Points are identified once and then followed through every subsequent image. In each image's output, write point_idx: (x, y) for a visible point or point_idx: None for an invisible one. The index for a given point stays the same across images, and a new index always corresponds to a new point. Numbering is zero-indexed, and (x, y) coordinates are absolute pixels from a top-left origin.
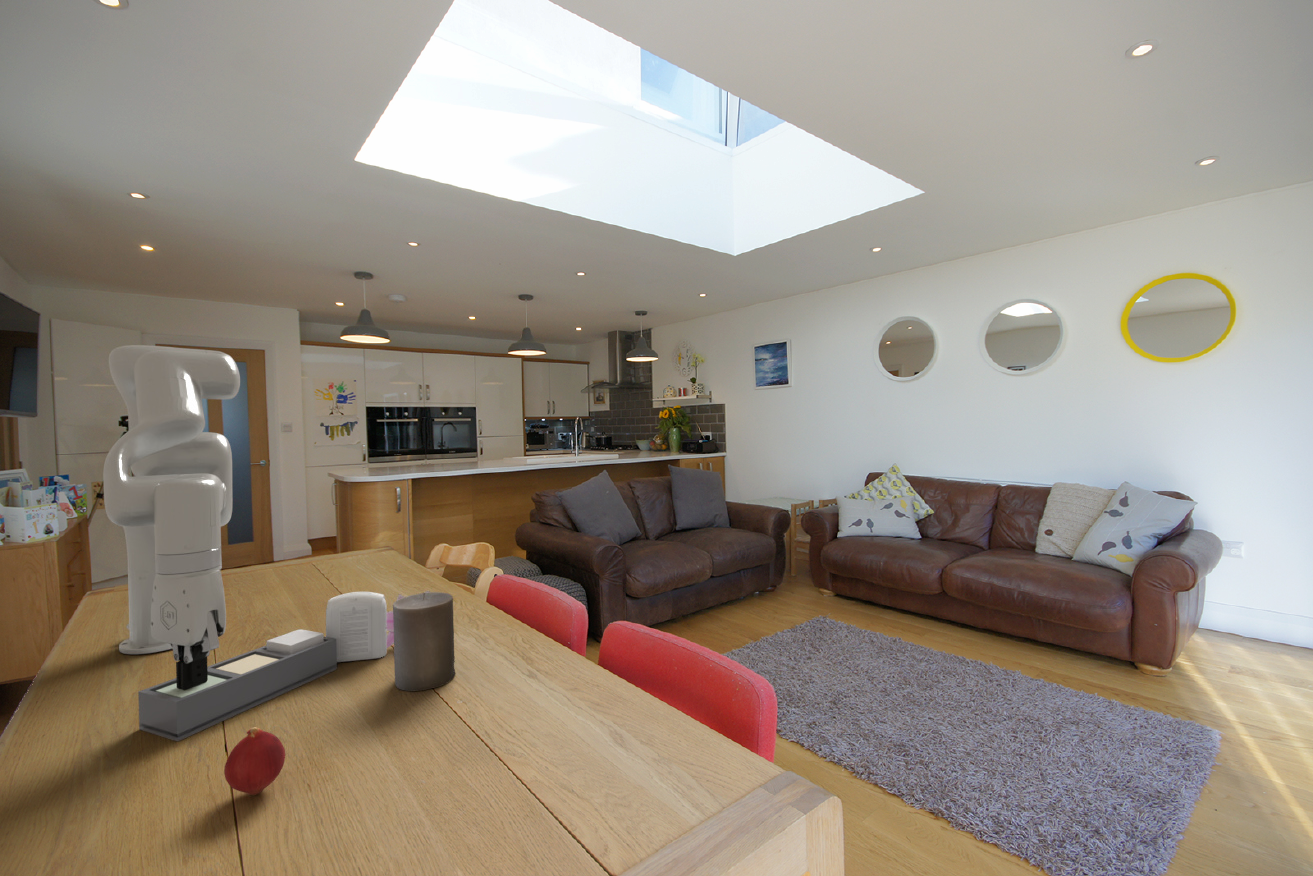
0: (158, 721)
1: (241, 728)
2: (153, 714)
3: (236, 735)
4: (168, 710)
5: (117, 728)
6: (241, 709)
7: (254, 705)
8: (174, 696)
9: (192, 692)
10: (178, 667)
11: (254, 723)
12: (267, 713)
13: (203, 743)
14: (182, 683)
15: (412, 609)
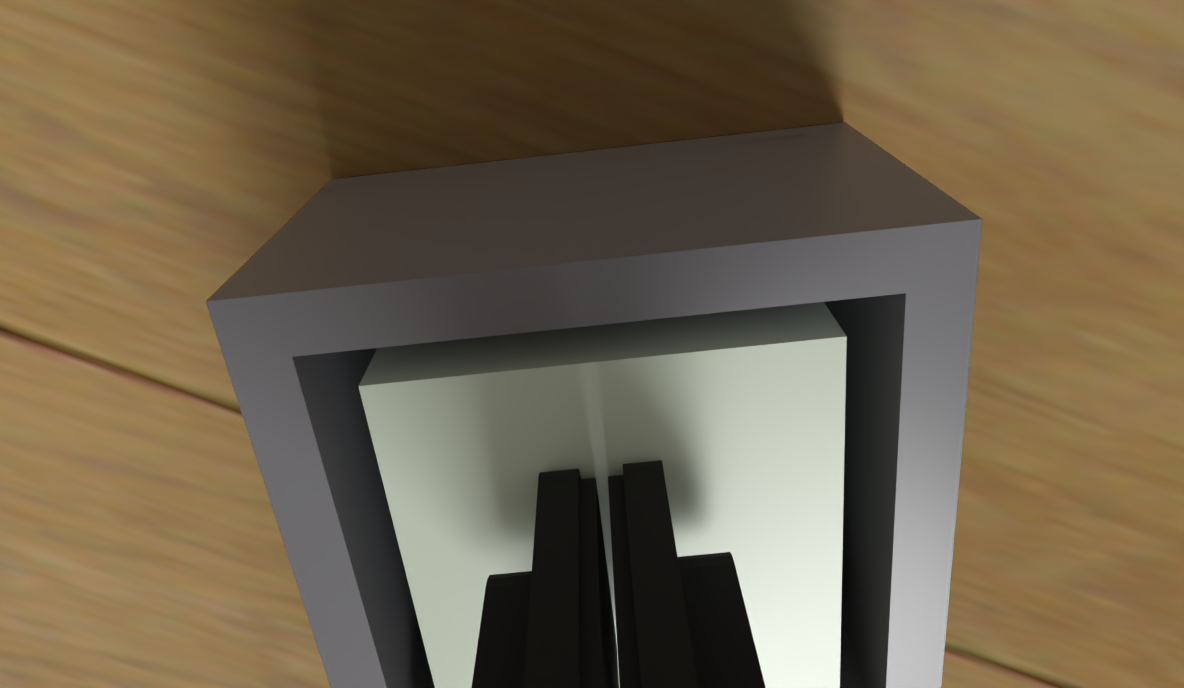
0: (573, 182)
1: (168, 470)
2: (653, 189)
3: (79, 412)
4: (390, 242)
5: (1057, 42)
6: None
7: None
8: (490, 368)
9: (413, 486)
10: (641, 643)
11: (176, 535)
12: (263, 627)
13: (136, 258)
14: (554, 511)
15: None
